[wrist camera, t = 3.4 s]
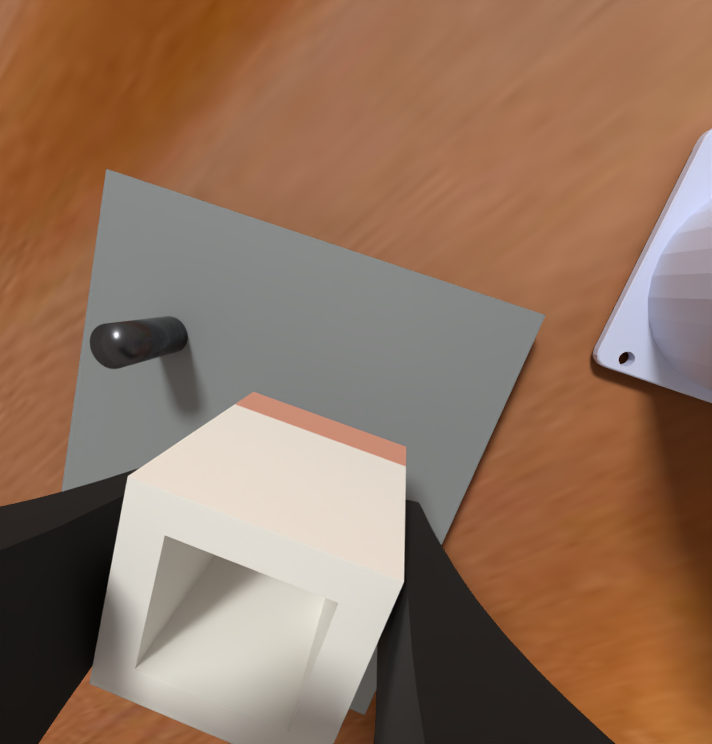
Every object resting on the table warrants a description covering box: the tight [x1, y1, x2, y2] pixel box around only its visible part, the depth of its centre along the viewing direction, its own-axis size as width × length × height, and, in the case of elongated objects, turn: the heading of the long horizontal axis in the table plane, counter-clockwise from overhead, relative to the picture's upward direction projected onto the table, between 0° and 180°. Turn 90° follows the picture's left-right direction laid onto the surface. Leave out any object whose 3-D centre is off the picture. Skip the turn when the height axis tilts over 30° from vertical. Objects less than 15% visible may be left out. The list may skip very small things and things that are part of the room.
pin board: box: [62, 169, 545, 715], centre depth 16 cm, size 16×19×2 cm
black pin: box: [90, 316, 188, 369], centre depth 13 cm, size 1×1×3 cm
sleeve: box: [89, 392, 406, 744], centre depth 9 cm, size 5×5×5 cm
